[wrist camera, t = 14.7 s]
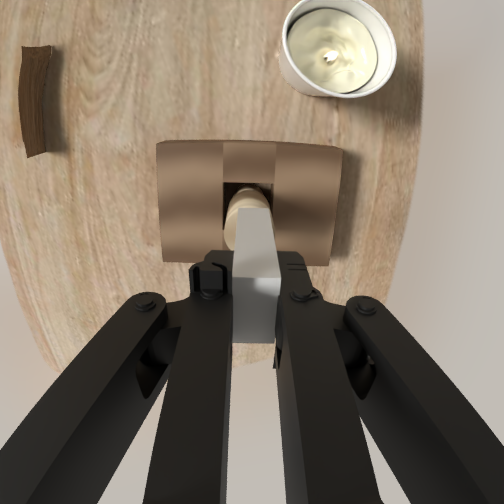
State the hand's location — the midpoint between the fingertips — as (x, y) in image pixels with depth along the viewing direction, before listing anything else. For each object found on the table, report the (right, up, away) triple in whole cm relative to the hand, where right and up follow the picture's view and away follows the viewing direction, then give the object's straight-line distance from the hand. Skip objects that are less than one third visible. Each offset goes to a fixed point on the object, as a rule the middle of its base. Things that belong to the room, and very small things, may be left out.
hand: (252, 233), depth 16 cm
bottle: (0, +6, +22) cm, 22 cm away
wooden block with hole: (-1, +6, +22) cm, 22 cm away
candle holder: (+7, +21, +15) cm, 27 cm away
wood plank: (-28, +20, +15) cm, 37 cm away
